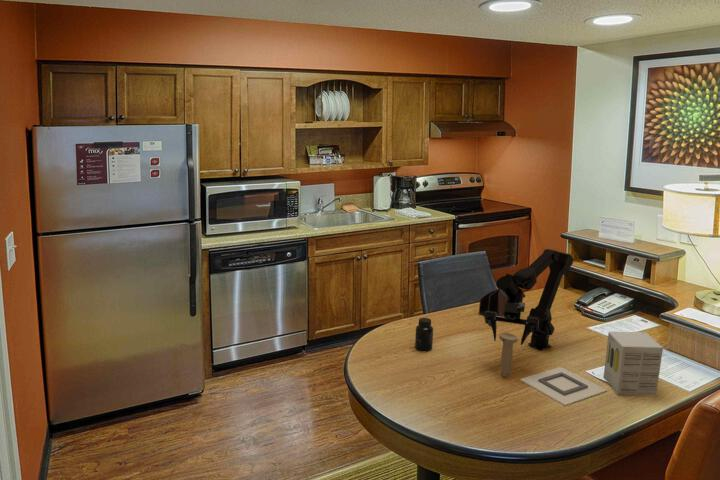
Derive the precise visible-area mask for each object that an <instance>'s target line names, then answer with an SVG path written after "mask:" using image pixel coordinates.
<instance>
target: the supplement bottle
mask: <svg viewBox="0 0 720 480" xmlns="http://www.w3.org/2000/svg"><path fill="white" fill-rule="evenodd" d="M414 340H415V341H414V347H415V349H416V350H417V351H419V352H423V351H426V352H430V351H431V350H432V349H433V345H434V343H433V340H434V326H432V319H431V318H428V317H420V318H419V319H418V325H417V326H416V327H415V338H414Z"/></svg>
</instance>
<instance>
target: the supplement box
mask: <svg viewBox="0 0 720 480" xmlns="http://www.w3.org/2000/svg"><path fill="white" fill-rule="evenodd" d="M663 351H664V347H663V346H662V345H661V344H659V342H657V341H656V339H654V338H653V337H652V336H650V335H649V333H647V332H645V331H642V332H641V331H608V336H607V344H606V352H605V353H606V354H605V359H604V360H605V361H604V370H603V378H604V377H605V378H606V380H607V381H608V382H609V383H608V382H607V381H606V380H605V381H606V382H607V383H608V385H609V384H610V385H611V386H612V387H611V386H610V387H611V389H612V390H613V389H614V390H615V391H616V392H615V391H614V390H613V391H614V392H615V393H616V395H617V394H628V395H627V396H644V395H656V396H657V391H658V385H659V377H660V371H661V364H662V358H663V357H662V356H663ZM605 378H604V379H605ZM630 394H631V395H630Z"/></svg>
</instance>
